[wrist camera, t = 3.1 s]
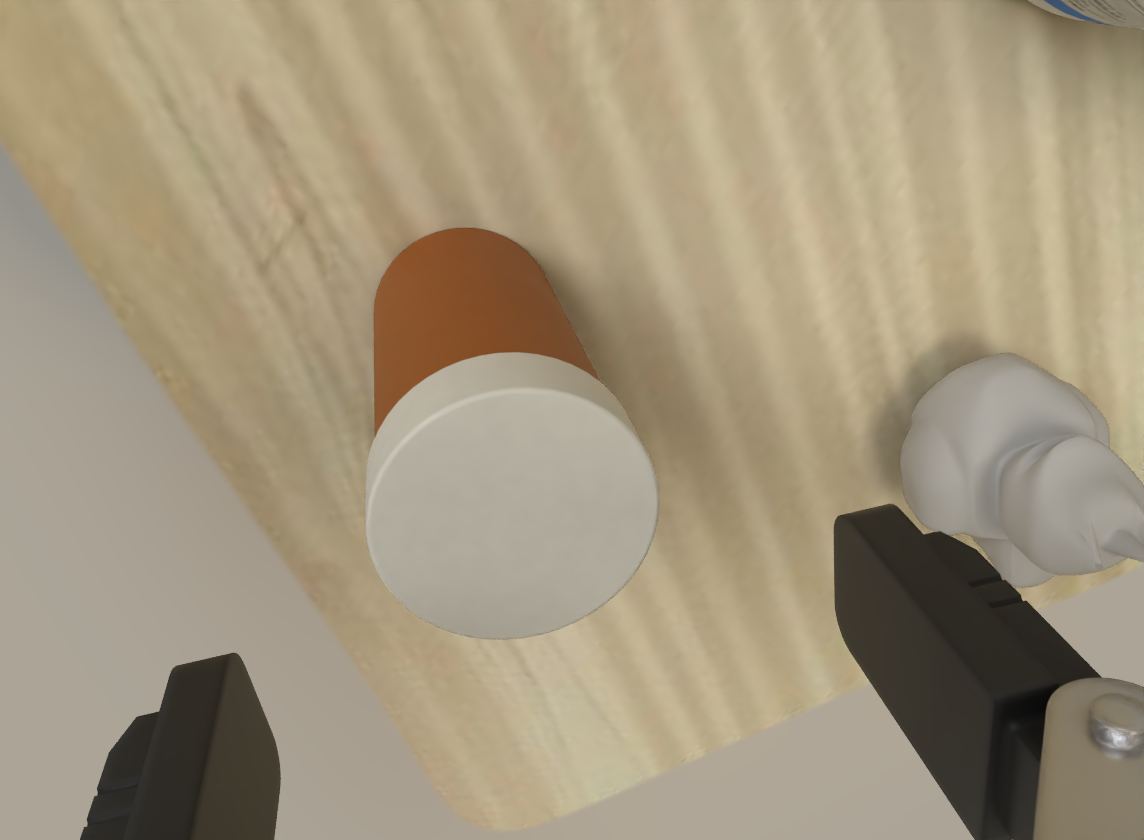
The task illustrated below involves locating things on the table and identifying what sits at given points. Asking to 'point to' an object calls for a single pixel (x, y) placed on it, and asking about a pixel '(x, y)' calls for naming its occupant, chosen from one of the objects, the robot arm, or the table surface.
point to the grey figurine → (1022, 472)
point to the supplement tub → (1098, 11)
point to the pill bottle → (496, 448)
